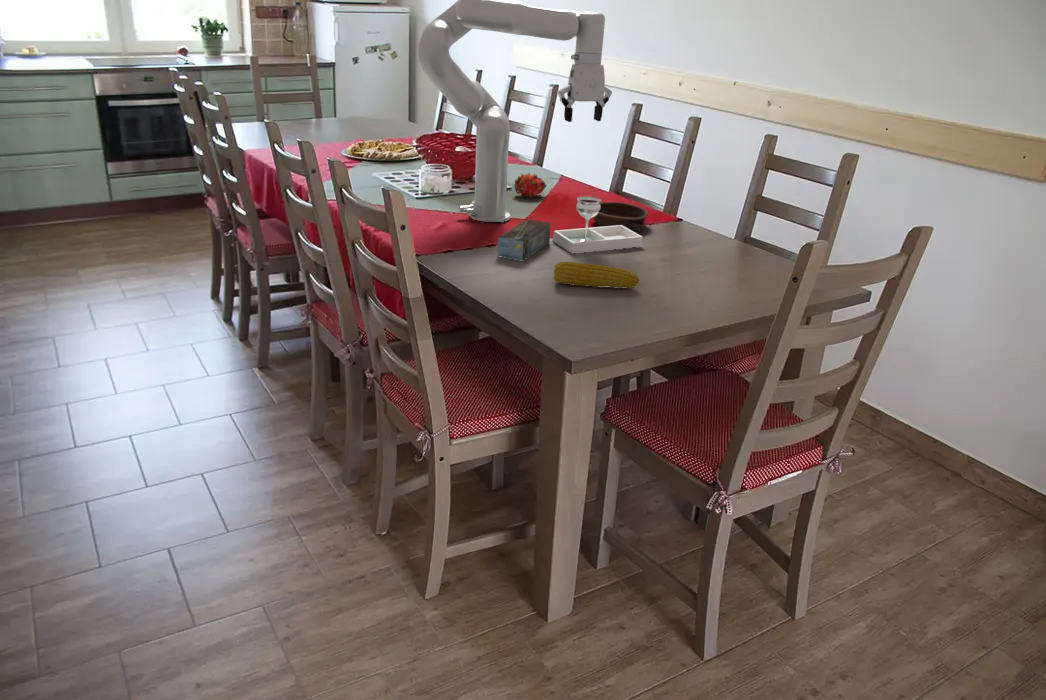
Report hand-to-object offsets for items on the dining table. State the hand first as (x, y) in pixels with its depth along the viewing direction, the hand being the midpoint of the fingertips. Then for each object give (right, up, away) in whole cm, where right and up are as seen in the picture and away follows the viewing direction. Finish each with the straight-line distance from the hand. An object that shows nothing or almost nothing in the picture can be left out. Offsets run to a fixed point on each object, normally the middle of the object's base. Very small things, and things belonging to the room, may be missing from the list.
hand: (582, 120), depth 242 cm
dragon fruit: (-15, -15, +37) cm, 43 cm away
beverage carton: (-17, -40, -14) cm, 46 cm away
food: (0, -51, -36) cm, 63 cm away
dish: (+12, -29, +13) cm, 34 cm away
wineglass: (0, -36, -8) cm, 37 cm away
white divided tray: (+4, -37, -6) cm, 37 cm away
